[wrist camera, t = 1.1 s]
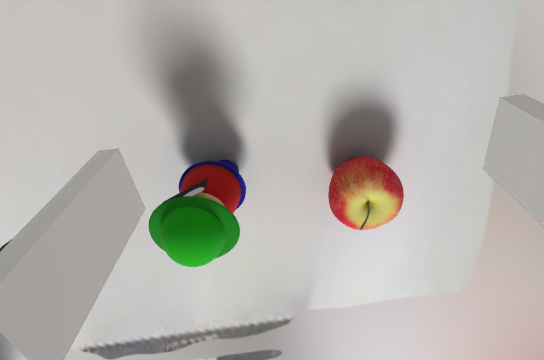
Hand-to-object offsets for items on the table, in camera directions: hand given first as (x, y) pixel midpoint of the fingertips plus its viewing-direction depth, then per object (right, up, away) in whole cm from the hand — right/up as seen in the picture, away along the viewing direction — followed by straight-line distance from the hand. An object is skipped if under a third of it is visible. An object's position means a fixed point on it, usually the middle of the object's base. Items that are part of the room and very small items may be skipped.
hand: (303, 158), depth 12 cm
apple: (+10, 0, +31) cm, 32 cm away
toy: (-9, +1, +30) cm, 31 cm away
